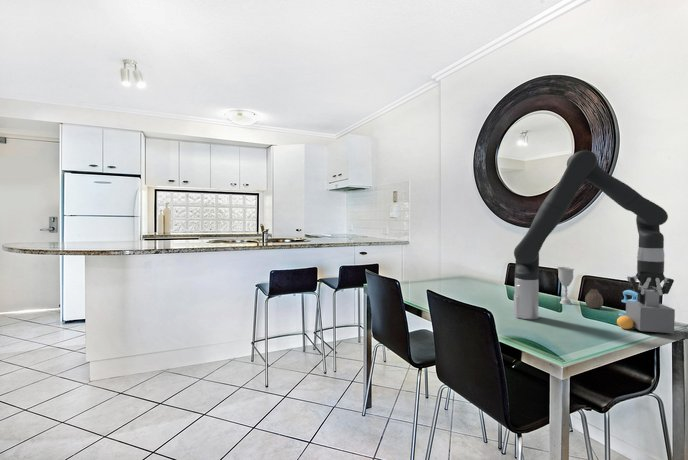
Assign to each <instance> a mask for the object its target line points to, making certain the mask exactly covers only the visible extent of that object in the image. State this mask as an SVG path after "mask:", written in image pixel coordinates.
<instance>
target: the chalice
mask: <svg viewBox="0 0 688 460" xmlns="http://www.w3.org/2000/svg"><path fill="white" fill-rule="evenodd" d="M574 270H575V268H574V267H569V266H568V267H567V266H566V267H565V266H558V267H557V271H558V272H557V273H558V280H559V282H560V283H561V285H562V286H563V287H564V289H563V295H564V297H563V298H561V300H560V302H559V303H560V304H562V305H572V302H571V299H570V298H568V287H570V285H571V283H572V282H573V279H574Z"/></svg>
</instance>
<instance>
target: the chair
mask: <svg viewBox="0 0 688 460" xmlns="http://www.w3.org/2000/svg"><path fill="white" fill-rule="evenodd" d="M622 295H623V296H624V297H623V299H621V303H624V304H626V301H638V293H637V292H634V291H632V289H626V290H623V291H622ZM627 296H631V298H630V299H628V298H627ZM618 316H619V317H620V316H626V313H618Z"/></svg>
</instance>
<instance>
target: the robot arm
mask: <svg viewBox="0 0 688 460" xmlns="http://www.w3.org/2000/svg"><path fill="white" fill-rule="evenodd" d="M597 163H598V158H597V156H596V154H595V153H594V152H593V151H591V150H586V149H585V150H579V151H577V152H574V153H573V154H571V155H570V157H568V159H567V160H566V168H565V170H564V172H563V175H562V176H561V178H560V180H559V181H558V183H557V184H555V186H553V189H552V190H550V192H549V193H548V194H547V196H546V197H545V199H544V200H543V202H541V205H540V207H539V209H538V210H537V212H536V214H535V216H534V218H533V220H532V222H531V225H530V227H529V229H528V230H527V232H526V234H525V235H524V236H523V238H522V239H521V240H520V242H519V243H518V244H517V245H516V246H515V248H514V251H513V255H514V258H515V268H514V293H513V315H514V316H515V318H516V319H524V320H539V316H540V315H539V312H540V311H539V304H540V303H539V273H540V251H541V248H542V247H543V245H544V242H545V241H546V239H547V238H548V236H549V235H550V234H551V233H552V232H553V231H554V230H555V228H556V227H557V226H558V225H559V223H560V222H561V220H562V219H563V217H564V216H565V214H566V213H567V211H568V209H569V207H570V206H571V204H572V202H573V200H575V199H574V198H575V196H576V195H577V192H578V191H579V189H580V187H581V186H582V184H583V183H584V182H585V181H587V182H589V184H592V185H593V186H594V187H596V188H597V189H599V190H600V191H601V192H603V193H604V194H605V195H606V196H607V197H609V199H611V200H612V201H614V203H616V204H617V205H619V206H620V207H621V208H623V209H624V210H626V211H629V212H631V213H632V214H634V215H636V216H635V217H636V218H635V221H636V229H637V233H638V246H637V247H638V249H637V256H636V259H637V260H636V261H637V262H636V263H637V265H636V271H637V272H636V274H635V275H633V276H627V277H626V278H627V282H628V284H629V287H630V290H631V291H634V292H637V293H638V302H639V303H641V304H645V295H644V293H645V291H646V290H648V287H652V290H654V291H657V292H659V305H660V304H662V298H663V297H662V295H668V294H669V292H670V291H671V289H672V286H673V284H674V281H675V280H674V278H673V279H672V278H670V277H666V276H665V274H664V272H665V249H664V246H665V245H664V244H665V238H664V235H663V233H661V229H660V226H662V225H664V224H665V223H666V222H667V221H668V219H669V215H668V212H667V211H666V210H665V209H664V208H663V207H662V206H660V205H658V204H657V203H655V202H654V201H652V200H649V199H648V198H646V197H644V196H643V195H642V194H640V193H639V192H638V191H636V189H634V188H632V187H631V186H629V185H628V184H626V183H625V182H623V181H621V180H620V179H618V178H616V177H614V176H612V175H611V174H610V173H608V172H606V171H605V170H604V169H602V168H601V167H600V166H599V165H598V164H597ZM637 280H638V281H639V283H638V285H637ZM662 282H663V285H662V284H661V283H662Z"/></svg>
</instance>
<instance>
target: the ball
mask: <svg viewBox="0 0 688 460" xmlns="http://www.w3.org/2000/svg"><path fill="white" fill-rule="evenodd" d="M616 324H617V325H618V326H619V327H620V328H621V329H624V330H629V329H632V328H634V327H633V325H634V322H633V320H632V319H631V318H630V317H628V316H619V317H618V318H617V319H616Z"/></svg>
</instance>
